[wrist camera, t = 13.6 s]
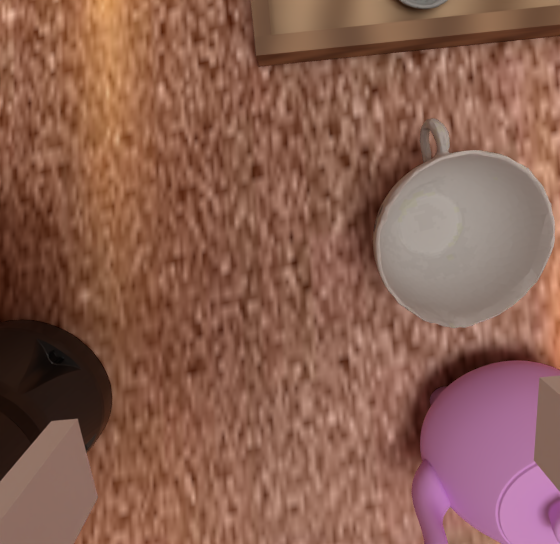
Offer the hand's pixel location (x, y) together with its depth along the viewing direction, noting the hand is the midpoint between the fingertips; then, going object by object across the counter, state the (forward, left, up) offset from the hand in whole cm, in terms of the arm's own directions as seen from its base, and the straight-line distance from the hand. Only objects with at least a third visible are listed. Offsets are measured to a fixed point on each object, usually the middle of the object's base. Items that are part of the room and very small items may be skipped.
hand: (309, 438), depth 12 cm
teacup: (+12, +2, -27) cm, 29 cm away
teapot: (+17, -19, -27) cm, 37 cm away
